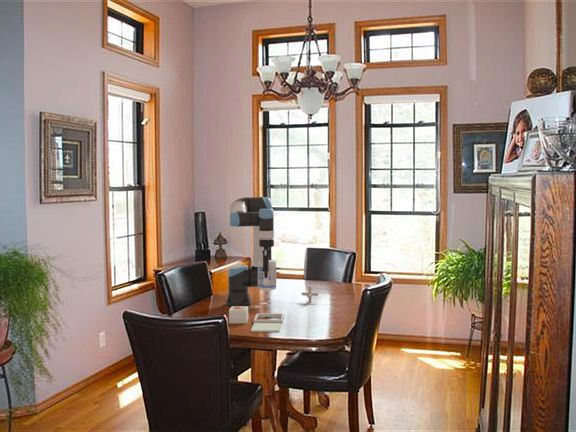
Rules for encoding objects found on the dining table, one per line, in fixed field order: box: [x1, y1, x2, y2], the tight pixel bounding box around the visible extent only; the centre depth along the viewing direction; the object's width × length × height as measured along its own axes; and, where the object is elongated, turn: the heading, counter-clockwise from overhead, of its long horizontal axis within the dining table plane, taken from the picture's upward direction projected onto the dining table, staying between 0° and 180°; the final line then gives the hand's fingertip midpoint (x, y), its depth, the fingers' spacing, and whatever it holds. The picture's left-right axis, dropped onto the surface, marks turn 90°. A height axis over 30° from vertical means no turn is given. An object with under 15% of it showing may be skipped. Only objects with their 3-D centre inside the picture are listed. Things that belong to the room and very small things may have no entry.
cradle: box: [253, 312, 285, 325], centre depth 305 cm, size 15×15×2 cm
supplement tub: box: [257, 259, 277, 292], centre depth 293 cm, size 10×10×15 cm
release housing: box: [228, 306, 249, 324], centre depth 304 cm, size 9×9×7 cm
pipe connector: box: [301, 285, 319, 304], centre depth 349 cm, size 10×10×10 cm
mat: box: [250, 322, 282, 333], centre depth 289 cm, size 14×14×1 cm
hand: (267, 282), depth 293 cm, fingers closed on supplement tub, 9 cm apart
